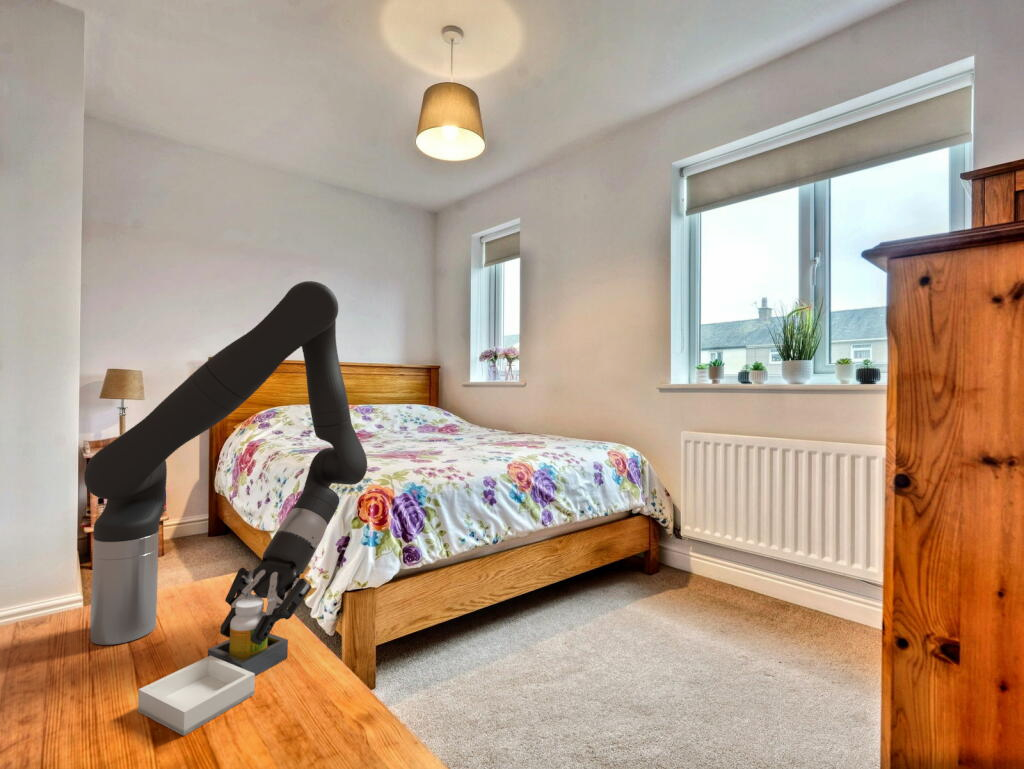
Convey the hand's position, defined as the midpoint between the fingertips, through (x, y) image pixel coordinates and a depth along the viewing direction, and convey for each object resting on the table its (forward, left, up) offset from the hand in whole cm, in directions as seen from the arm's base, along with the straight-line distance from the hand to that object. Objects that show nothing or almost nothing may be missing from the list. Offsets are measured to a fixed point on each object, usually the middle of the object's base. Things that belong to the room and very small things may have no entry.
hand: (240, 638), depth 81 cm
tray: (+3, -8, -5) cm, 10 cm away
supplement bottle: (0, +2, -5) cm, 5 cm away
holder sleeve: (0, +2, -5) cm, 5 cm away
